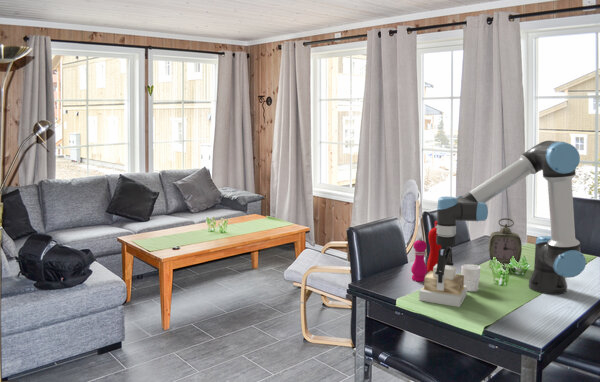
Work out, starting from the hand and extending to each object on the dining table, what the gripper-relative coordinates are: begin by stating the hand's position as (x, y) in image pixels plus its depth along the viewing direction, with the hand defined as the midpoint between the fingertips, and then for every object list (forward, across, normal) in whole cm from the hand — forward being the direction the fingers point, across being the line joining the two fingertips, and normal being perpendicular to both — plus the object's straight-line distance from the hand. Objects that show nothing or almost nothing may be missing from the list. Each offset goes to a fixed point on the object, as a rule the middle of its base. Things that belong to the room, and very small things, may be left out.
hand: (443, 285), depth 217 cm
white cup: (+5, -16, +8) cm, 19 cm away
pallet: (+1, 0, 0) cm, 1 cm away
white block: (-4, 0, 0) cm, 4 cm away
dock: (+5, 0, 0) cm, 5 cm away
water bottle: (+5, -34, -9) cm, 36 cm away
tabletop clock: (+5, -56, +18) cm, 59 cm away
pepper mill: (+5, -19, -15) cm, 25 cm away
